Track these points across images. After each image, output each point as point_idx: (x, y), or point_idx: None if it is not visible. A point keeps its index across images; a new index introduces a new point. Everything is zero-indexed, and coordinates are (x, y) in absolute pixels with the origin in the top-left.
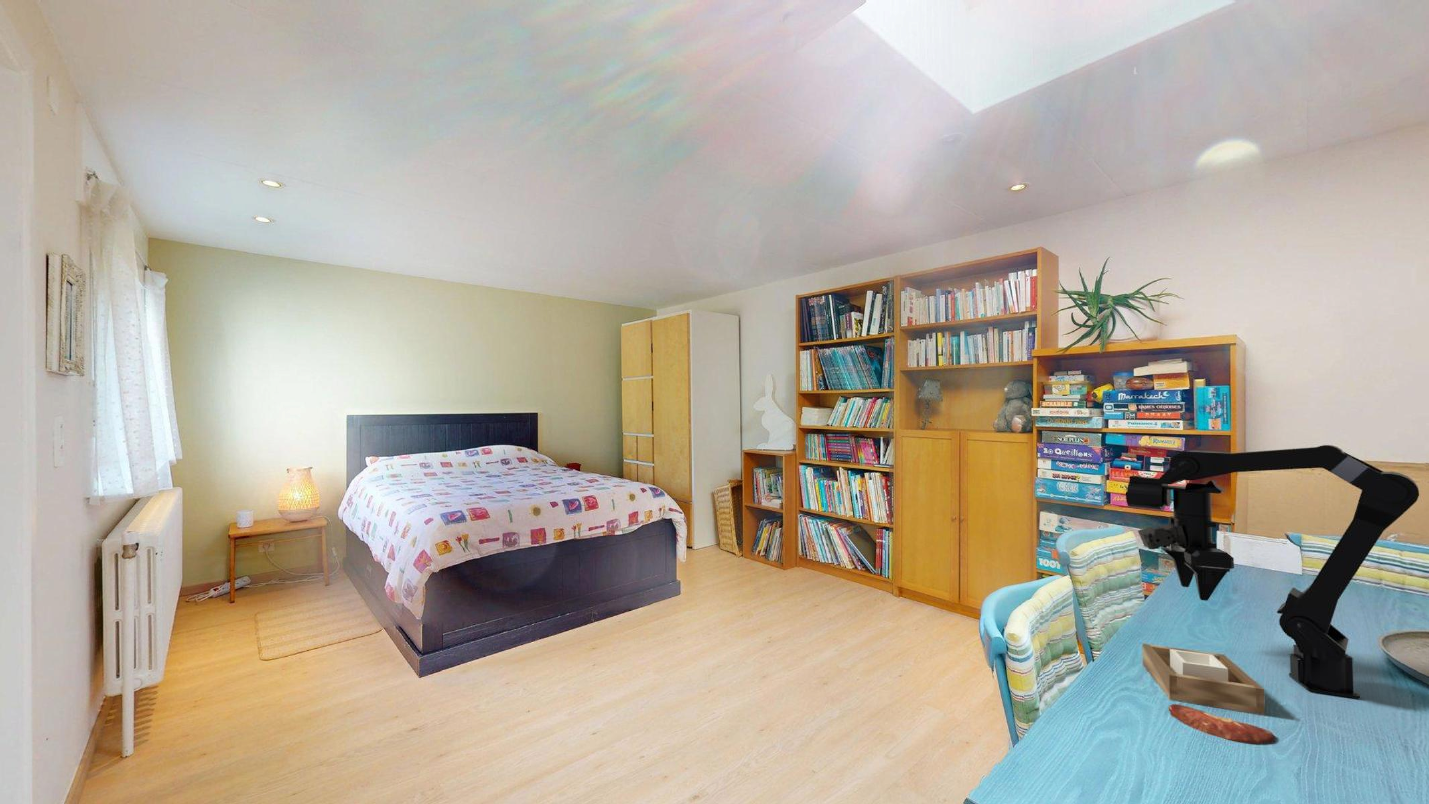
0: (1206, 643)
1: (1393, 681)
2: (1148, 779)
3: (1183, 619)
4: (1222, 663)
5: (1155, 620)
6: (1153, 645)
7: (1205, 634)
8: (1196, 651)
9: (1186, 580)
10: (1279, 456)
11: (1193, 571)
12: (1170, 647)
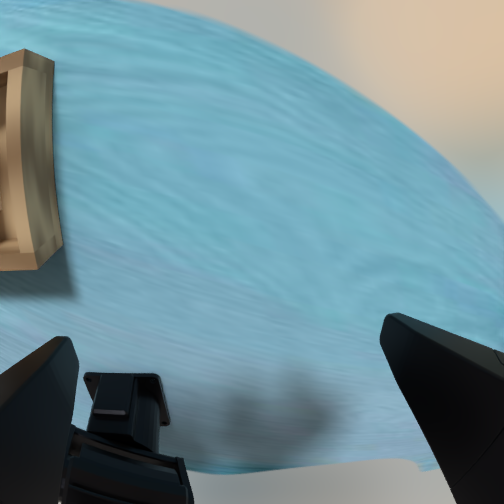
0: (327, 278)
1: (229, 466)
2: None
3: (467, 272)
4: (12, 248)
5: (457, 208)
6: (17, 77)
7: (391, 292)
8: (19, 197)
9: (402, 359)
10: None
11: (427, 432)
12: (20, 125)
